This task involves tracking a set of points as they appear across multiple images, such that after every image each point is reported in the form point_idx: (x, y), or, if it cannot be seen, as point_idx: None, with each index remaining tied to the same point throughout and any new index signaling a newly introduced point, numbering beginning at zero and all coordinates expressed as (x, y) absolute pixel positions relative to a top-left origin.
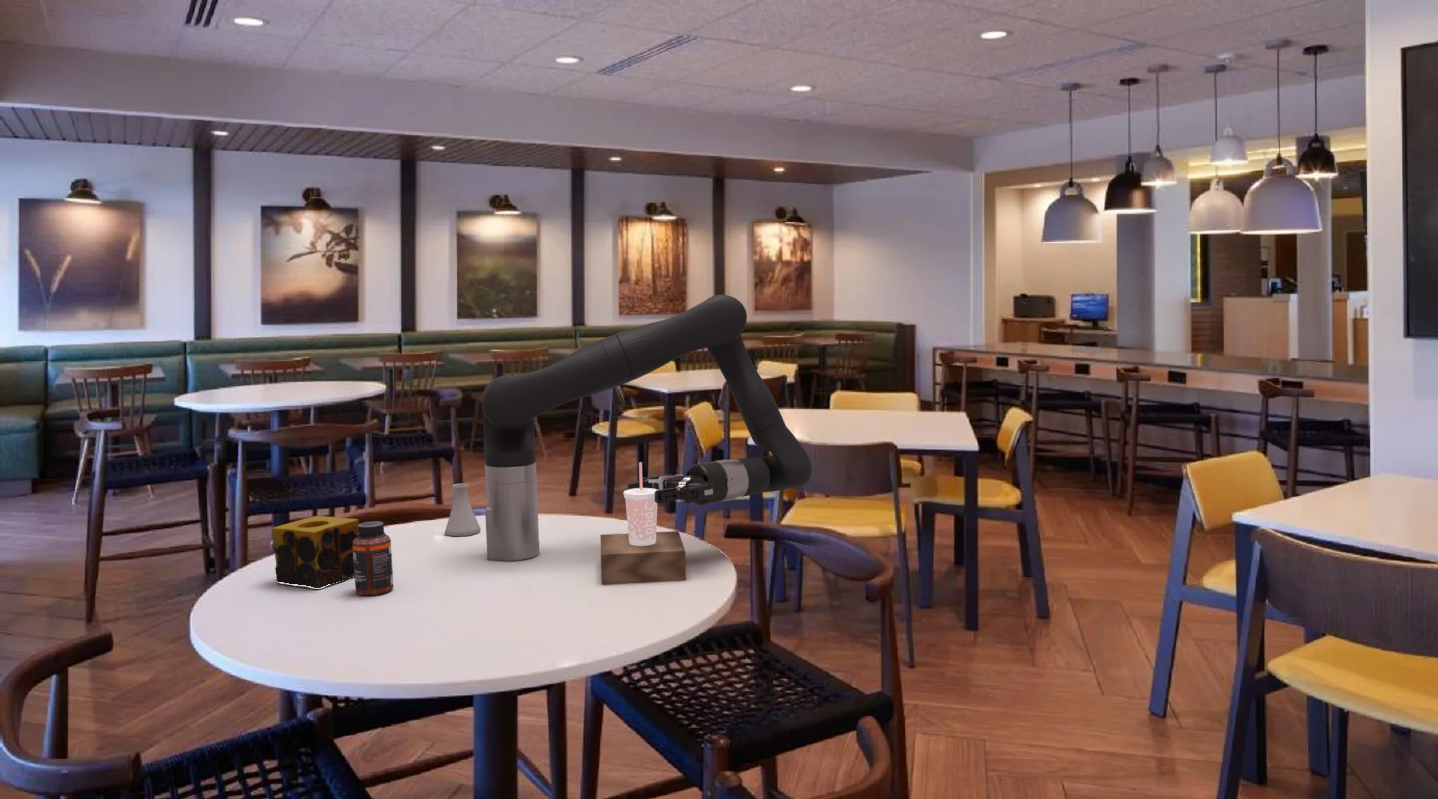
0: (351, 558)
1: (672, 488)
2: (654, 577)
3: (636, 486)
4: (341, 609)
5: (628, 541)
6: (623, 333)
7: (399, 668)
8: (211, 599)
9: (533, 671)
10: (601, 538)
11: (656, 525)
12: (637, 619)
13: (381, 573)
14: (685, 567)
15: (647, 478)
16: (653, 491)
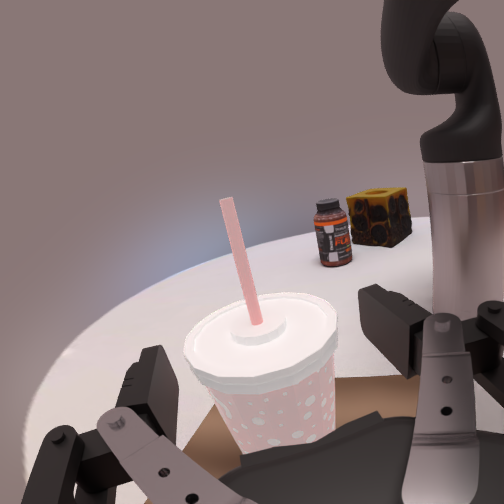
0: (381, 229)
1: (133, 397)
2: None
3: (373, 311)
4: (294, 260)
5: None
6: None
7: (148, 296)
8: (348, 225)
9: (77, 338)
10: (380, 377)
11: None
12: (81, 412)
13: (319, 247)
14: None
15: (481, 315)
16: (240, 362)
